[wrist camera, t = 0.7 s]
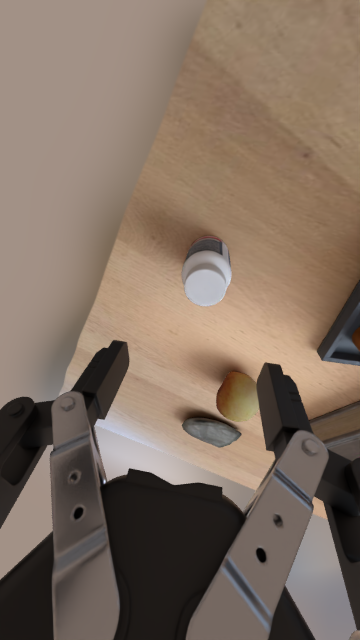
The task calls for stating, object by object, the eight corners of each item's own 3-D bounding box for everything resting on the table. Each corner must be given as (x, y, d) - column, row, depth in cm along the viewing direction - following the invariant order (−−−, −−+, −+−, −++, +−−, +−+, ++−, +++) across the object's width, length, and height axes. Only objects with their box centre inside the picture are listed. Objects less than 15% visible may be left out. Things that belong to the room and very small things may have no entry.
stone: (243, 428, 49) (244, 443, 47) (217, 441, 54) (217, 455, 52) (198, 404, 46) (197, 418, 44) (175, 420, 51) (173, 434, 49)
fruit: (228, 394, 43) (229, 434, 36) (207, 368, 39) (205, 408, 33) (265, 384, 39) (274, 427, 33) (246, 356, 36) (252, 397, 29)
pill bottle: (179, 253, 27) (165, 283, 20) (212, 225, 25) (209, 248, 18) (204, 283, 29) (200, 320, 22) (237, 260, 27) (244, 293, 20)
